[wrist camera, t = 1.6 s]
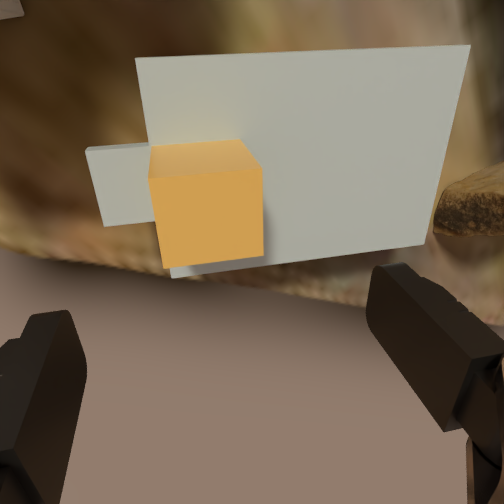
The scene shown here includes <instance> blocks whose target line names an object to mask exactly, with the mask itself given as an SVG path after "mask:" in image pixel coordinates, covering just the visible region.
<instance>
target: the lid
mask: <svg viewBox="0 0 504 504" xmlns="http://www.w3.org/2000/svg"><path fill="white" fill-rule="evenodd" d="M470 47H471V45H442V46H417V47H392V48H366V49H341V50H316V51H291V52H265V53H240V54H215V55H190V56H165V57H139V58H135V62H136V68H137V74H138V80H139V86H140V92H141V98H142V104H143V110H144V116H145V122H146V128H147V135H148V141H149V142H147V143H134V144H121V145H107V146H94V147H87V149H86V150H85V154H86V158H87V162H88V166H89V170H90V174H91V177H92V181H93V185H94V189H95V193H96V197H97V201H98V205H99V209H100V213H101V217H102V221H103V224H104V227H106V226H115V225H125V224H134V223H143V222H152V221H155V223H156V229H157V234H158V240H159V246H160V251H161V257H162V263H163V268H164V269H166V268H170V273H171V278H178V277H185V276H193V275H200V274H208V273H215V272H222V271H230V270H237V269H245V268H252V267H260V266H267V265H274V264H282V263H289V262H297V261H304V260H311V259H319V258H326V257H334V256H341V255H349V254H356V253H363V252H371V251H378V250H386V249H393V248H400V247H408V246H415V245H423V244H424V242H425V238H426V234H427V229H428V225H429V221H430V217H431V212H432V208H433V204H434V200H435V196H436V191H437V187H438V183H439V179H440V174H441V170H442V166H443V162H444V157H445V153H446V149H447V145H448V140H449V136H450V132H451V128H452V124H453V119H454V115H455V111H456V107H457V102H458V98H459V94H460V90H461V85H462V81H463V77H464V73H465V69H466V64H467V60H468V56H469V52H470Z"/></svg>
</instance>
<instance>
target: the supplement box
mask: <svg viewBox="0 0 504 504" xmlns="http://www.w3.org/2000/svg"><path fill="white" fill-rule="evenodd" d="M21 16H24V11H23V8H22V5H21V3H20V0H0V20H1V19H8V18H14V17H21Z"/></svg>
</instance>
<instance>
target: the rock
mask: <svg viewBox="0 0 504 504" xmlns="http://www.w3.org/2000/svg"><path fill="white" fill-rule="evenodd" d="M433 232H434V233H442V234H444V235H446V236H457V237H471V236H474V235H487V236H498V235H502V236H504V161H501V162H499V163H497V164H495V165H493V166H489V167H486V168H484V169H483V170H481V171H479V172H476V173H473V174H472V175H470V176H469V177H467V178H465V179H464V180H462V181H459V182H455V183H453V184H452V185H450V186H449V187H448V188H447V189H446V190H445V191H444V192H443V195H442V197H441V200H440V202H439V205H438V207H437V210H436V212H435V217H434V230H433Z"/></svg>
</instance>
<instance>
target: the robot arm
mask: <svg viewBox="0 0 504 504" xmlns="http://www.w3.org/2000/svg"><path fill="white" fill-rule="evenodd" d="M366 319H367V323H368V326H369V328H370V330H371V332H372V333H373V335H374V336H375V338H376V339H377V340H378V342H379V343H380V344H381V346H382V347H383V348H384V350H385V351H386V353H387V354H388V356H389V357H390V358H391V360H392V361H393V362H394V364H395V365H396V367H397V368H398V369H399V371H400V372H401V374H402V375H403V376H404V378H405V379H406V380H407V382H408V383H409V385H410V386H411V387H412V389H413V390H414V392H415V393H416V394H417V396H418V397H419V398H420V400H421V401H422V403H423V404H424V405H425V407H426V408H427V410H428V411H429V412H430V414H431V415H432V417H433V418H434V419H435V421H436V422H437V423H438V425H439V426H440V428H441V429H442V431H443V432H447V431H452V430H456V429H460V428H463V429H464V430H465V431H466V432H467V434H468V435H469V437H468V439H467V442H466V468H467V504H504V340H503V339H502V338H500V337H499V336H498V335H497V334H496V333H495V332H493V331H492V330H491V329H490V328H489V327H488V326H487V325H486V324H484V323H483V322H482V321H481V320H480V319H479V318H478V317H476V316H475V315H474V314H473V313H472V312H469V311H468V309H467V308H466V307H465V306H464V305H463V304H462V303H461V302H457V300H456V298H455V297H454V296H453V295H451V294H450V293H449V292H448V291H447V290H446V289H445V288H443V287H442V286H440V285H438V284H436V283H434V282H432V281H430V280H428V279H426V278H424V277H420V276H419V275H418V274H417V273H416V272H415V271H413V270H412V269H411V268H410V267H409V266H408V265H407V264H405V263H403V262H400V263H393V264H386V265H379V266H376V267H375V268H374V269H373V271H372V275H371V281H370V287H369V293H368V299H367V306H366ZM86 379H87V363H86V358H85V354H84V351H83V348H82V345H81V342H80V340H79V336H78V334H77V331H76V328H75V325H74V322H73V319H72V316H71V314H70V312H69V311H68V310H60V311H53V312H46V313H39V314H33V315H31V316H30V318H29V320H28V322H27V324H26V326H25V328H24V330H23V333H22V334H21V337H20V338H16V339H9V340H8V341H7V342H6V343H5V344H4V345H3V346H2V347H1V348H0V504H59V503H60V498H61V494H62V489H63V485H64V480H65V476H66V471H67V466H68V462H69V457H70V453H71V448H72V443H73V439H74V434H75V430H76V425H77V421H78V416H79V411H80V407H81V402H82V398H83V393H84V389H85V383H86Z"/></svg>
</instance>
